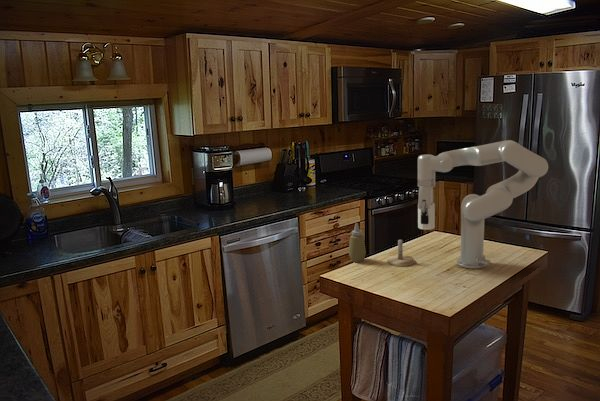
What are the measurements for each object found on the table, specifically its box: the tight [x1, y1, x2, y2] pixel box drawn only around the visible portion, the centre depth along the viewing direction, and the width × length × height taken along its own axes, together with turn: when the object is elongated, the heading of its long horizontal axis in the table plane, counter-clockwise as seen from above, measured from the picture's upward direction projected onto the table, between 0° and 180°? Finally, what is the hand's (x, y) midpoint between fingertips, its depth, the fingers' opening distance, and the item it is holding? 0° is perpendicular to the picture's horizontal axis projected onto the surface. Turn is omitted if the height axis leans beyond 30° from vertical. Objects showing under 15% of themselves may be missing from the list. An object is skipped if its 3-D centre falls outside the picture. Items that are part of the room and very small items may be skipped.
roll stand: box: [386, 239, 415, 268], centre depth 220 cm, size 12×12×10 cm
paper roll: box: [417, 202, 436, 231], centre depth 215 cm, size 7×7×11 cm
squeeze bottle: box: [348, 222, 367, 263], centre depth 225 cm, size 8×8×18 cm
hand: (426, 221), depth 215 cm, fingers closed on paper roll, 7 cm apart
